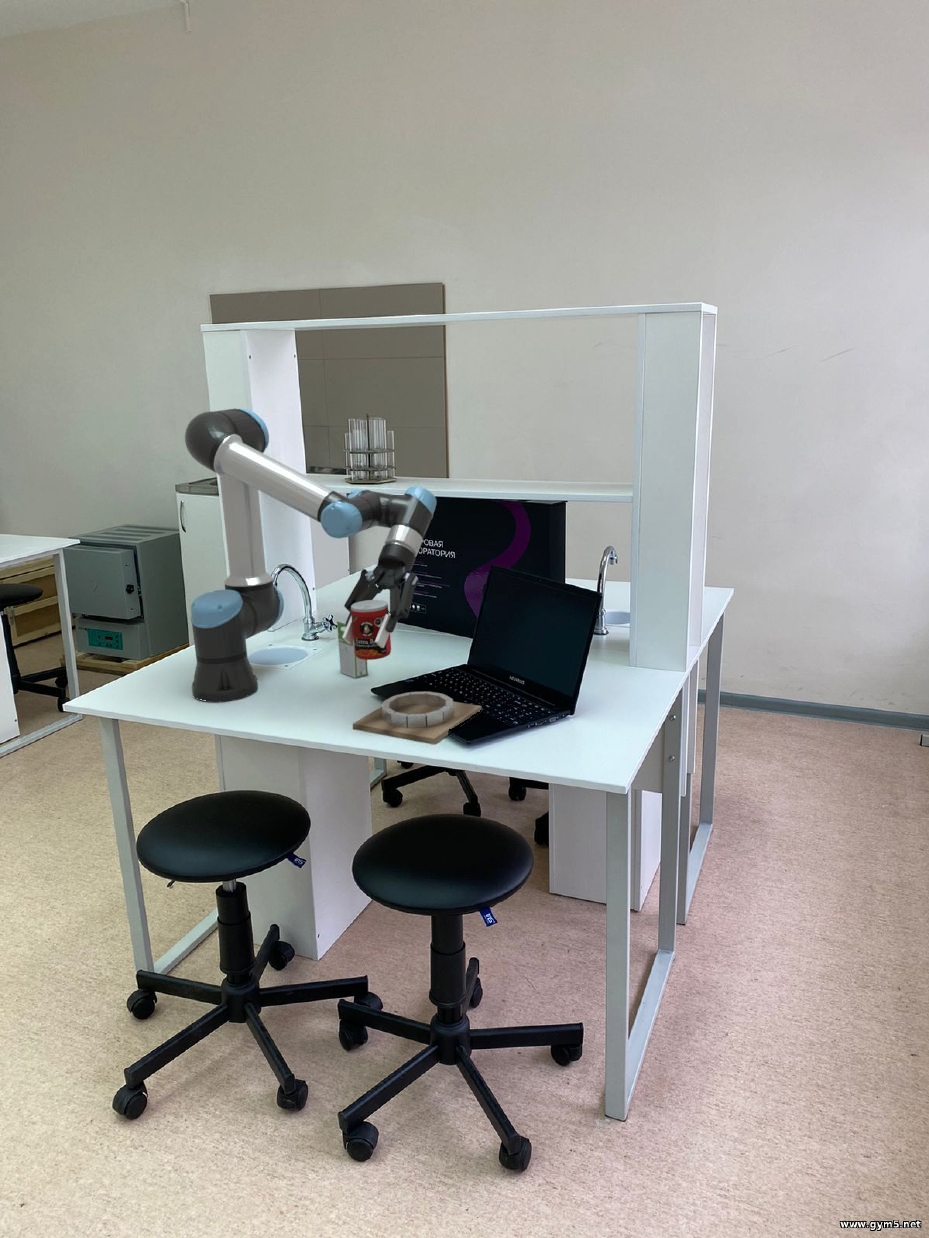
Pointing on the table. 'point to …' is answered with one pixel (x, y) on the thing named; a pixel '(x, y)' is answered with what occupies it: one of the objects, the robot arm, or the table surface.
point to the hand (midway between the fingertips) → (362, 642)
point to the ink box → (350, 657)
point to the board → (427, 735)
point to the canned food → (369, 629)
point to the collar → (417, 719)
